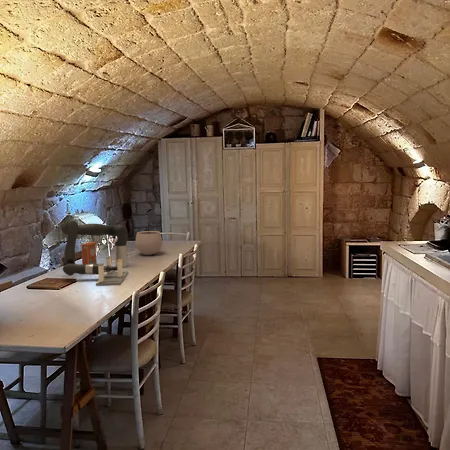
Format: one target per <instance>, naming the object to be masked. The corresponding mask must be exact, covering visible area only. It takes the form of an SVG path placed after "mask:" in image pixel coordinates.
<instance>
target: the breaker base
mask: <svg viewBox="0 0 450 450" xmlns="http://www.w3.org/2000/svg"><path fill="white" fill-rule="evenodd" d="M105 259H106V260H105V261H106V262H105V263H106V265H108V266H112V256H111V255H110V256H109V255H108V256H106V257H105ZM98 264H99V265H98V270H99V274H98V280H97V282H95V286H97V287H98V286H99V287H101V286H121V285H122V283H123V281H125V279H126V278H127V276H128V275H129V271H125V270H124V271H123V270H122V274H123V276H122V277H118V271H110V272H104V266H105V264H104V262H102V263H101V262H99V263H98Z"/></svg>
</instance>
